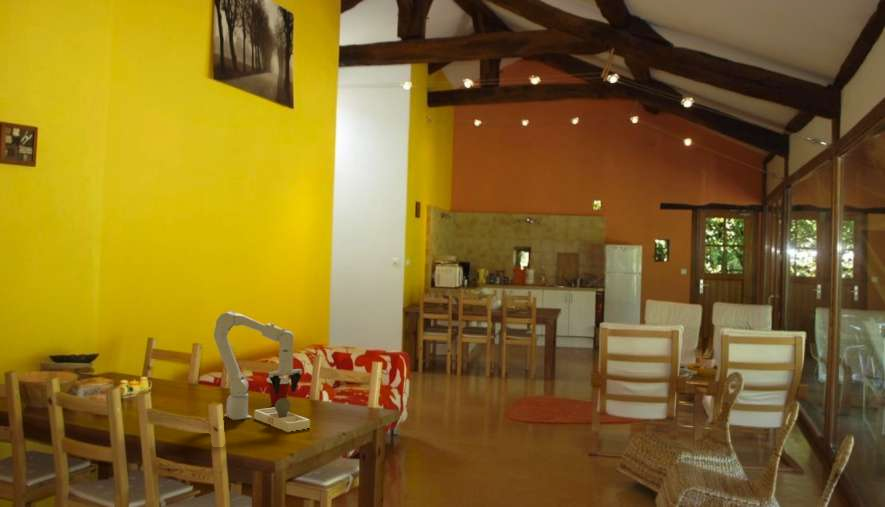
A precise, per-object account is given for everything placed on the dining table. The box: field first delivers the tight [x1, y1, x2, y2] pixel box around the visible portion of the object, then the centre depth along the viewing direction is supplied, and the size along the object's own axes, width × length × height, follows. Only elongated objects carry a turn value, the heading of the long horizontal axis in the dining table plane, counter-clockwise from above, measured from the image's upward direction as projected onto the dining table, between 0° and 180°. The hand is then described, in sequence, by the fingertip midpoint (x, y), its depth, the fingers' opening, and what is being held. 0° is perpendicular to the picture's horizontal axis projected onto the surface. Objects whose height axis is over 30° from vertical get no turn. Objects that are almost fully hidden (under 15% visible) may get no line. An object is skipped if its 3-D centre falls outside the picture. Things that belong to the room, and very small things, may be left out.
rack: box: [253, 407, 311, 433], centre depth 295 cm, size 27×10×4 cm, turn 42°
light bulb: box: [275, 398, 291, 418], centre depth 294 cm, size 6×6×10 cm
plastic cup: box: [266, 376, 291, 408], centre depth 327 cm, size 11×11×12 cm
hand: (285, 392), depth 305 cm, fingers open, 7 cm apart
